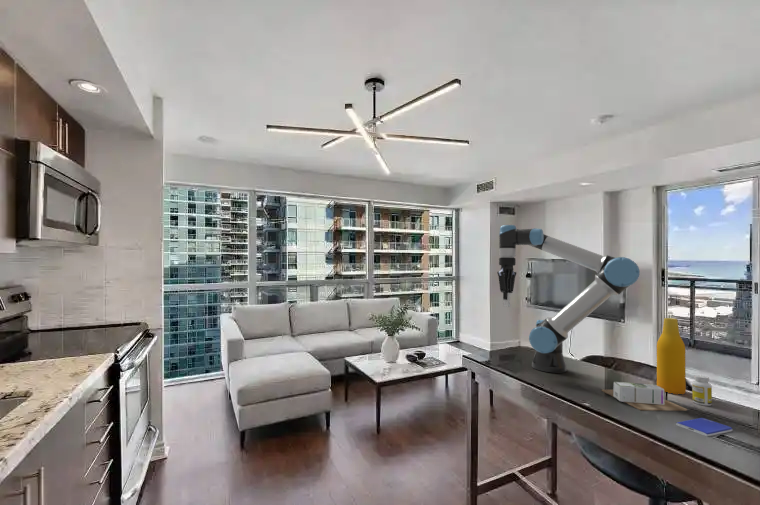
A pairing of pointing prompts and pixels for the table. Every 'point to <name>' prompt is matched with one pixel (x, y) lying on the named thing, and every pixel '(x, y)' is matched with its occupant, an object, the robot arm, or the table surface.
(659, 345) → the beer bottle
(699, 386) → the supplement bottle
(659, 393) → the syrup box
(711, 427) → the hard drive
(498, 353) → the table surface
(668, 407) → the wooden board
